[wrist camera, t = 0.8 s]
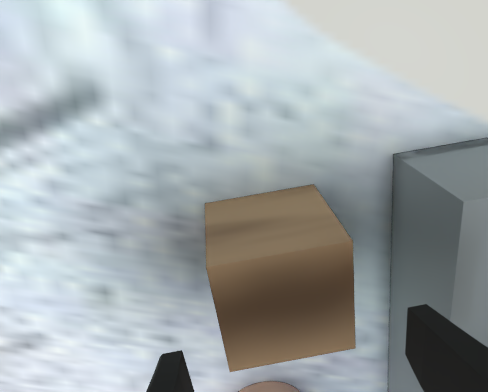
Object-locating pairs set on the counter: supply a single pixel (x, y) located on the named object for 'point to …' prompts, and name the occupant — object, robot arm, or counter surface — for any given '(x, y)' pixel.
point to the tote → (438, 245)
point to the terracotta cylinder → (269, 387)
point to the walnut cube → (280, 277)
